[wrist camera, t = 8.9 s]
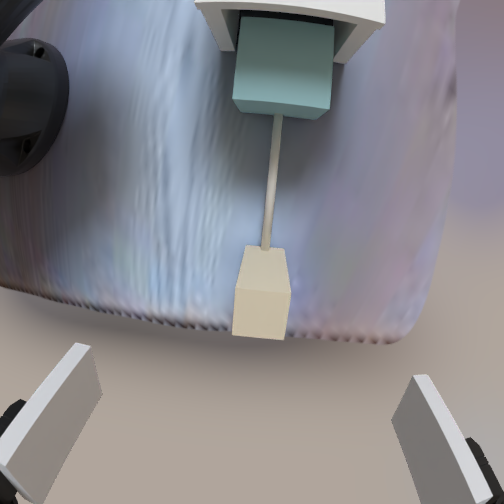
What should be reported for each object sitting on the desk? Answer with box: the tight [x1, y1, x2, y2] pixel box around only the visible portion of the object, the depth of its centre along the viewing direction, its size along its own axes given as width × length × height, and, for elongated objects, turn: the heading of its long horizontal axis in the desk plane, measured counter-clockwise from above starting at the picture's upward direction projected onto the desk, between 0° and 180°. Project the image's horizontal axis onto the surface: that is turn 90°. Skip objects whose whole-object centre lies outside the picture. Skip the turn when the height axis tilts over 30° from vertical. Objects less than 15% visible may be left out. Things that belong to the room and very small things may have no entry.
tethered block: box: [232, 17, 335, 340], centre depth 20 cm, size 6×20×9 cm, turn 175°
